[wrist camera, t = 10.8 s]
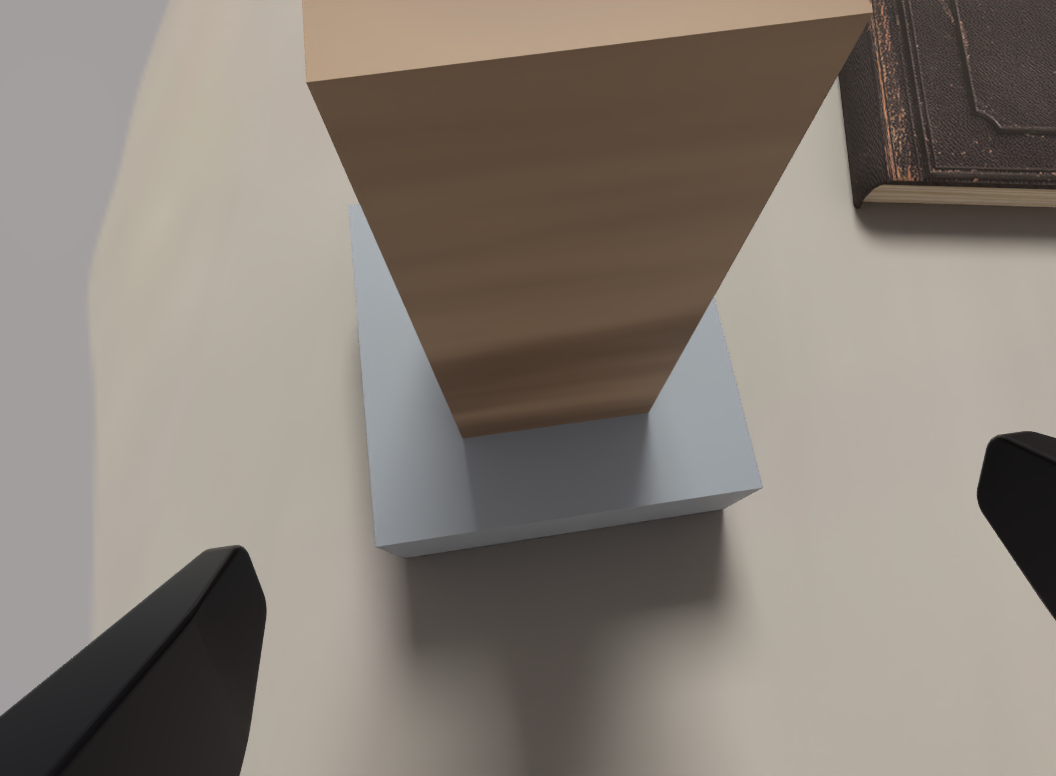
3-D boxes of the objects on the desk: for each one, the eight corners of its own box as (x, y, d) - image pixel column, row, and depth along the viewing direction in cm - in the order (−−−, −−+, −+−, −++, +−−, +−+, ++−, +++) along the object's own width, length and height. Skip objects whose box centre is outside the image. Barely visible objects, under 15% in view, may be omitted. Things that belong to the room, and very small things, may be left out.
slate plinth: (723, 509, 22) (763, 487, 18) (404, 558, 21) (375, 546, 18) (657, 229, 25) (679, 160, 21) (377, 268, 24) (348, 205, 21)
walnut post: (648, 412, 18) (872, 11, 6) (462, 438, 18) (305, 82, 6) (615, 247, 20) (740, -342, 8) (443, 269, 20) (287, -292, 8)
